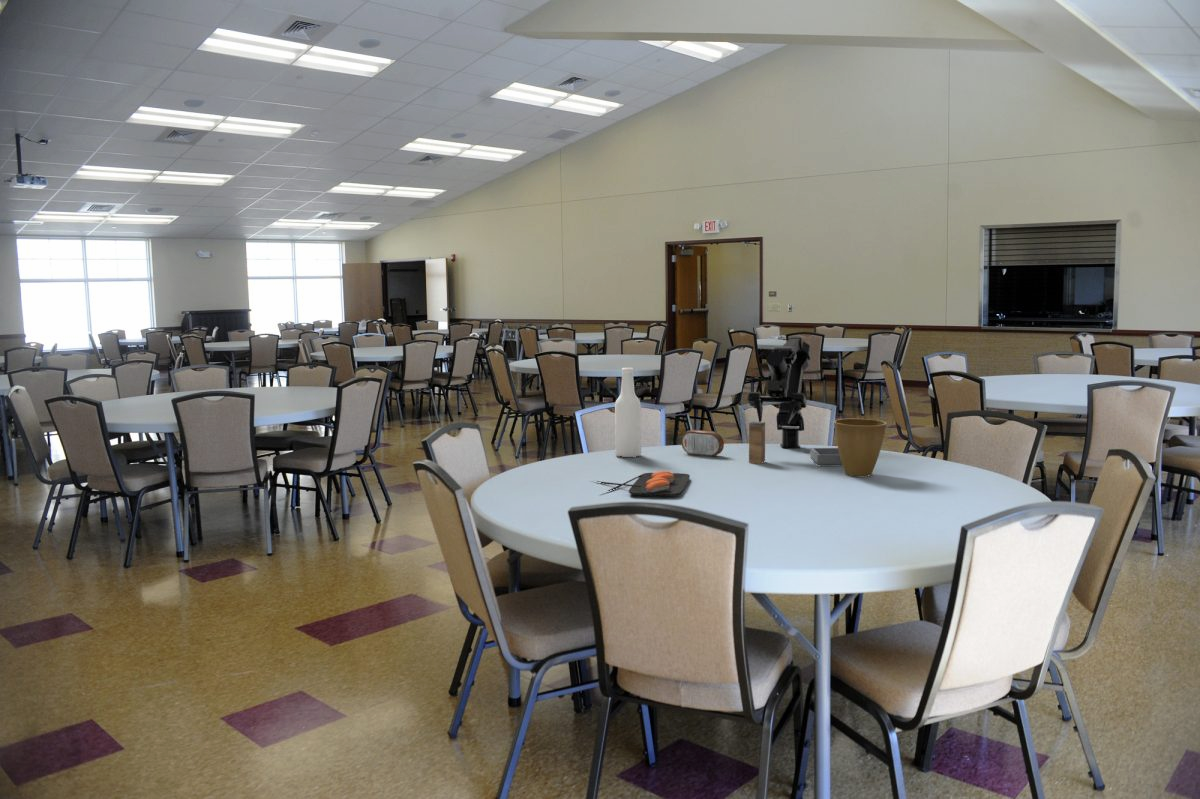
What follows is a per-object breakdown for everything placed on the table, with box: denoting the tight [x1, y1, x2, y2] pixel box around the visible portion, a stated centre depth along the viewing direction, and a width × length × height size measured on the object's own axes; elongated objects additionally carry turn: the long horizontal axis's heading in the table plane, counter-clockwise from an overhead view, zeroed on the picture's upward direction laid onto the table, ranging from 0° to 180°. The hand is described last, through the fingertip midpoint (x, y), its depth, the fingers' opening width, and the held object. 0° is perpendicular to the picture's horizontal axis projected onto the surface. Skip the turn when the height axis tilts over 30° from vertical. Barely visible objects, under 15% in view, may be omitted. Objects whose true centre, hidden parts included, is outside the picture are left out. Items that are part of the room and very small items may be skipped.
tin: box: [680, 429, 725, 457], centre depth 310 cm, size 15×3×8 cm, turn 58°
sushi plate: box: [596, 470, 691, 497], centre depth 261 cm, size 29×30×4 cm
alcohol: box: [614, 367, 642, 458], centre depth 310 cm, size 9×9×30 cm
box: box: [809, 447, 842, 466], centre depth 294 cm, size 14×14×4 cm
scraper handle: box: [748, 421, 766, 464], centre depth 295 cm, size 4×4×13 cm
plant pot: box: [833, 418, 887, 477], centre depth 272 cm, size 15×15×16 cm
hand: (773, 422), depth 300 cm, fingers open, 9 cm apart
